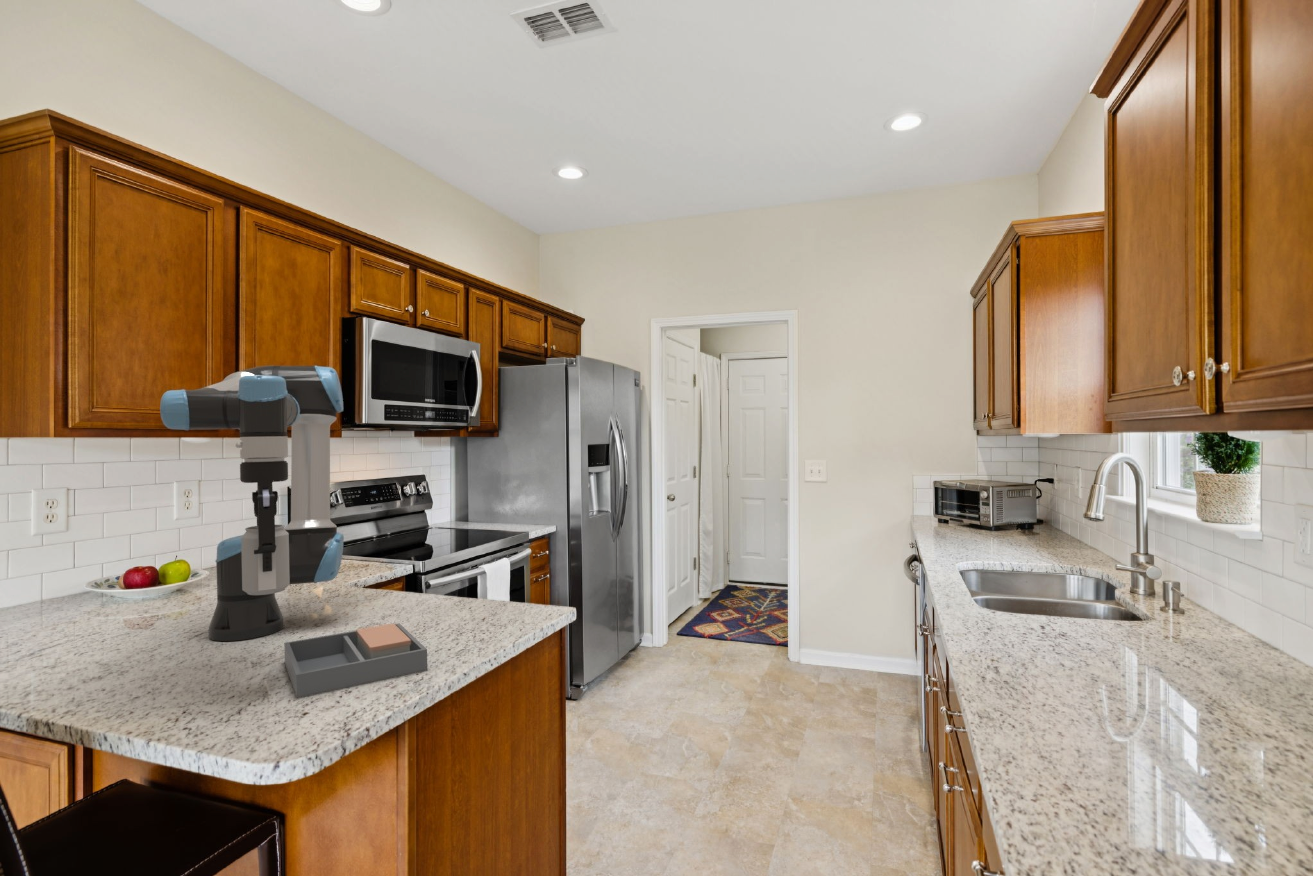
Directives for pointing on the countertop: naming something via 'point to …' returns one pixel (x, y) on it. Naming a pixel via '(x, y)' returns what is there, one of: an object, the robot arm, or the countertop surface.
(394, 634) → the two-tone square sponge
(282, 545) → the can
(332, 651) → the tray
